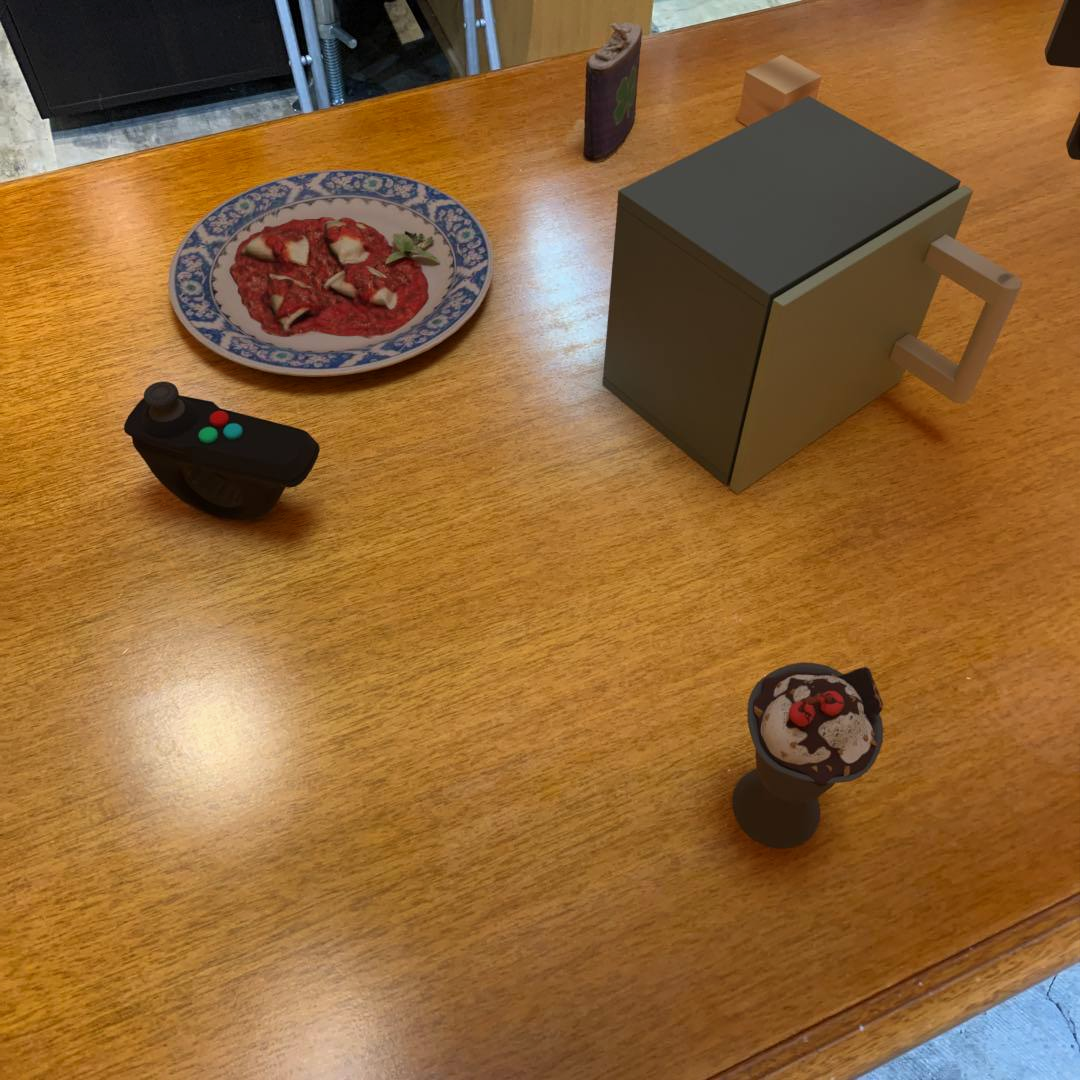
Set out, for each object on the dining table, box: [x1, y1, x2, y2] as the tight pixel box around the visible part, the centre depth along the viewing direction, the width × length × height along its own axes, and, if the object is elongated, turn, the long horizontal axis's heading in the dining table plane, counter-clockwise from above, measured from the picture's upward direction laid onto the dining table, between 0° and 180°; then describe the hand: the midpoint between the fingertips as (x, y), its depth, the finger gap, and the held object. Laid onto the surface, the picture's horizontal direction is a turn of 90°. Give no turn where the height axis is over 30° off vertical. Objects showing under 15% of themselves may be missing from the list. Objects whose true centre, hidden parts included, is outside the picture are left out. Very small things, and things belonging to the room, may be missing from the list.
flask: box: [582, 21, 643, 163], centre depth 98 cm, size 9×3×11 cm, turn 155°
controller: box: [123, 381, 321, 522], centre depth 70 cm, size 4×12×10 cm, turn 73°
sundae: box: [731, 661, 884, 850], centre depth 55 cm, size 7×7×15 cm
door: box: [729, 185, 1023, 495], centre depth 71 cm, size 7×18×17 cm, turn 130°
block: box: [737, 54, 822, 127], centre depth 102 cm, size 5×5×5 cm
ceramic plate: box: [167, 169, 494, 378], centre depth 87 cm, size 26×26×3 cm
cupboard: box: [601, 96, 962, 487], centre depth 76 cm, size 13×18×17 cm
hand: (1075, 107), depth 53 cm, fingers open, 8 cm apart
